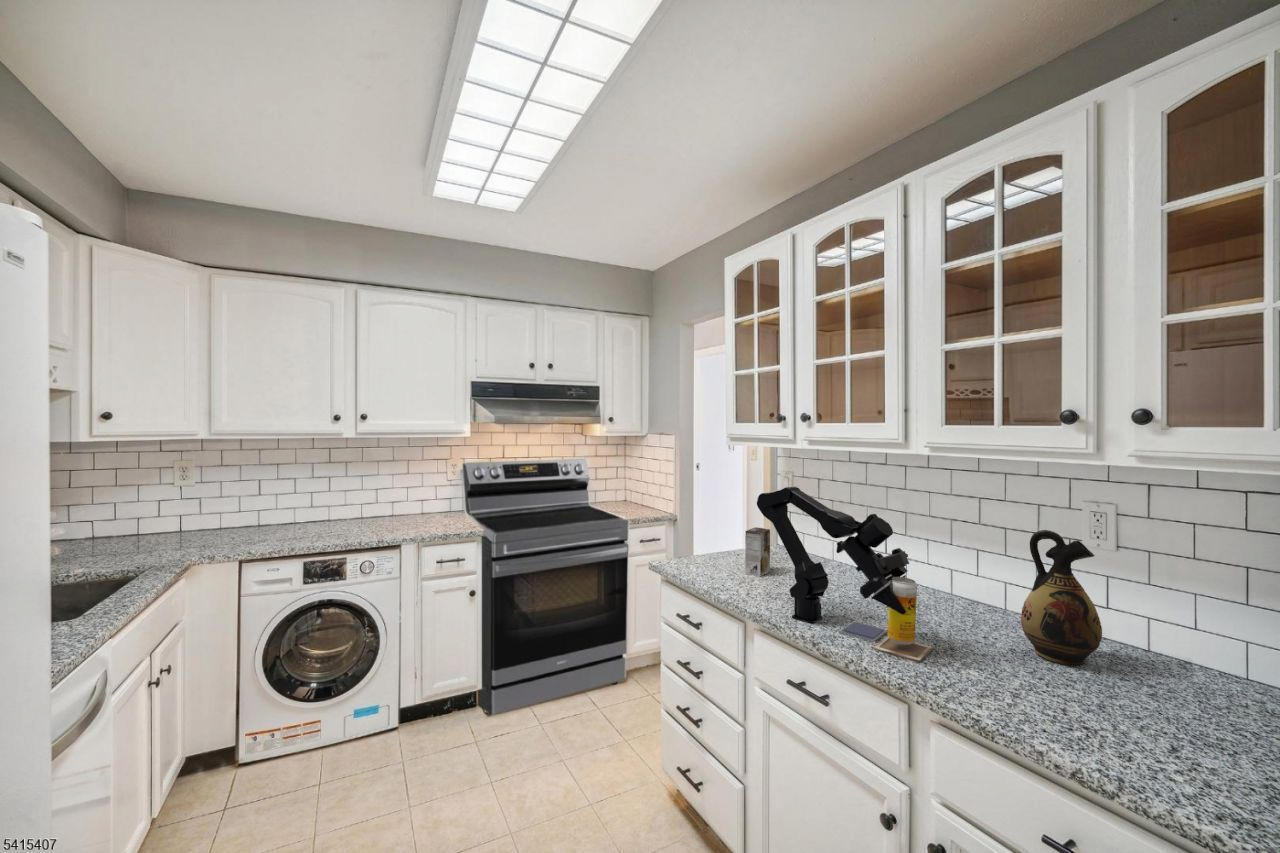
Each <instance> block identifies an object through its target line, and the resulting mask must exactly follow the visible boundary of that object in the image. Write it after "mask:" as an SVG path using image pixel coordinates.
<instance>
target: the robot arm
mask: <svg viewBox="0 0 1280 853" xmlns="http://www.w3.org/2000/svg"><path fill="white" fill-rule="evenodd" d="M789 504H791V505H792V506H794V507H796V508H797V509H798V510H801V512H803V513H805V514H807V515H808V516H810V517H811V518H813V520H816V521H817V522H818V523H819V524H820V527H821V528H822V530H823V531H824V532H826V534H828V535H829V537H830V538H832V539H841V538H846V537H847V538H846V539H844V541H843V540H839V541H838V542H836V553H837V554H840V553H842V552H845V553H846V554H847V555H848V556H849V558H850V559H851V560H852V561H853V563H854V564H855V565H856V566H857V567H855V570H856V571H857V572H861V573H863V575H864V576H865V578H867V581H866V583H864V584H863V585H861V586H860V587H859V594H860V595H861V596H862V597H863V598H864V600H867V599H868V598H870V597H871V598H870V599H871V600H874V601H877V602H878V603H881V604H882V605H885V606H886V607H888V608H889V607H890V608H892V609H893V610H895V611H897V612H899V613H901V614H902V615H903V614H905V613H906V610H905V609H904V607H903V606H902V604H901V603H900V601H899V600H898V598H897V597H896V595H895V594H894V592H893V583H891V584H890V581H891V580H892V578H893V577H904V578H907V576H906V573H907V572H908V570H907V568H906V566H907V565H910V561H909V560H908V557H909V554H908V553H907V552H906V551H905V550H902V549H901V548H900V547H899V548H894V549H892V550H891V554H889V555H885V556H884V555H882V553H880V552H877V553H876V552H875V550H874V549H876V548H877V547H879V546H880V545H881V544H883V543H884V542H885V541H886V540H888V539H889V538H890V537H892V536H893V534H894V532H893V531H894V530H893V528H892V526H891V524H890V523H889V522H887V521H886V520H885V519H883V518H881V517H879V516H878V515H877V514H876V513H871V514H869V515H867V517H866V519H864V521H862V522H860V521H859V520H856V519H855V518H854V517H853V516H852V515H850V514H848V513H845V512H843V511H840V510H839V511H838V510H835V509H832V508H829V507H827V506H826V505H825V504H824V503H821V502H819V501H818V500H817V499H815V498H813V497H812V496H811V495H809V494H807V493H805V492H804V491H803V490H802V489H801V488H799V487H798V486H789V487H788V486H787V487H783V488H782V489H780V490H779V489H778V490H777V491H773V492H762V493H760V494H759V495H758V497H757V500H756V506H757V508H758V510H759V512H761V514H762V515H763V517H764V518H766V519H767V520H768V521H770V522H771V523H772V525H773V526H774V529H775V531H776V533H777V535H778V537H779V538H780V541H781V542H782V545H783V546H784V548H785V550H786V552H787V554H788V556H789V558H790V560H791V561H792V563H793V566H794V579H795V582H796V583H795V584H794V585H792V587H791V588H789V594H790V597H791V598H794V605H793V606H794V607H793V608H794V611H793V612H794V614H792V615H791V619H794V620H799V621H802V622H807V623H811V624H815V622H818V621H819V620H821V619H823V615H822V603H821V598H820V597H824V595H825V592H826V590H828V587H829V583H830V582H829V581H830V580H829V579H828V576H829V574H828V573H827V572H826V570H825V569H824V566H823V564H822V563H821V562H815V561H813V560H812V559H811V558H810V555H809V554H808V552H807V550H806V548H805V547H804V545H803V543H802V541H801V539H800V537H799V535H798V534H797V531H796V529H795V528H794V525H793V524H792V522H791V520H790V518H789V515H788V512H789V511H788V510H789V506H788V505H789ZM855 534H856V535H855ZM853 535H855V536H853ZM873 548H874V549H873Z"/></svg>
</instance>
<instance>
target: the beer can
mask: <svg viewBox="0 0 1280 853" xmlns="http://www.w3.org/2000/svg"><path fill="white" fill-rule="evenodd" d="M891 583H893V592H894V594H895V595H896V597H897V598H898V600H899V601H900V603H901V604H902V606H903V607H904V609H905V610H906V613H905V614H903V615H902V614H901V613H899V612H897V611H895V610H893V609H892V608H890V607H888V614H887V615H888V617H887V618H888V620H887V622H888V623H887V636H889V637H890V639H891V640H892V641H893V642H896V643H899V644H912V642H915V640H916V626H917V625H916V622H917V602H918V601H917V596H918V594H917V593H918V585H917V583H916V581H915V579H912V578H908V577H905V578H904V577H902V576H901V577H893V578H892V580H891V581H890V584H891Z"/></svg>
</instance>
